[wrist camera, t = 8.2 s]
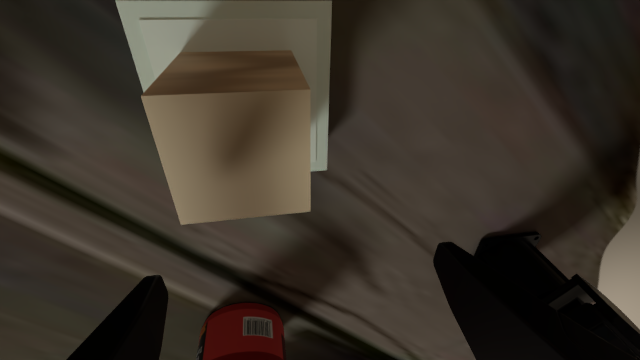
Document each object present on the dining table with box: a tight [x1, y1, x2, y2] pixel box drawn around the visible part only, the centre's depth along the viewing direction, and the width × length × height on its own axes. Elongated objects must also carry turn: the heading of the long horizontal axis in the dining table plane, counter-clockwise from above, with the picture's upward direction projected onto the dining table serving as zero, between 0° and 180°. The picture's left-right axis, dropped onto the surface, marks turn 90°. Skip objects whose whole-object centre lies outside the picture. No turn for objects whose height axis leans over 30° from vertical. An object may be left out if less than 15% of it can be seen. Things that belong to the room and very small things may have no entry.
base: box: [115, 0, 332, 171], centre depth 17 cm, size 9×9×3 cm
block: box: [141, 50, 311, 225], centre depth 13 cm, size 5×5×6 cm
